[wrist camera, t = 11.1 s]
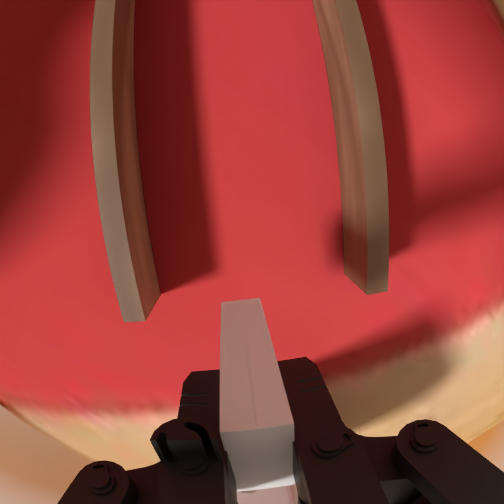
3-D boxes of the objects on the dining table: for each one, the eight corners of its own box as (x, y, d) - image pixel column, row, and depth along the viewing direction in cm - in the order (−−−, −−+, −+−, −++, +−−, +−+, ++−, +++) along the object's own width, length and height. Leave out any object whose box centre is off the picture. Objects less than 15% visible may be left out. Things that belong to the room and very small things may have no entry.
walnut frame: (142, 296, 17) (123, 322, 14) (126, -62, 11) (114, -87, 7) (362, 270, 18) (387, 291, 14) (303, -79, 11) (312, -105, 7)
